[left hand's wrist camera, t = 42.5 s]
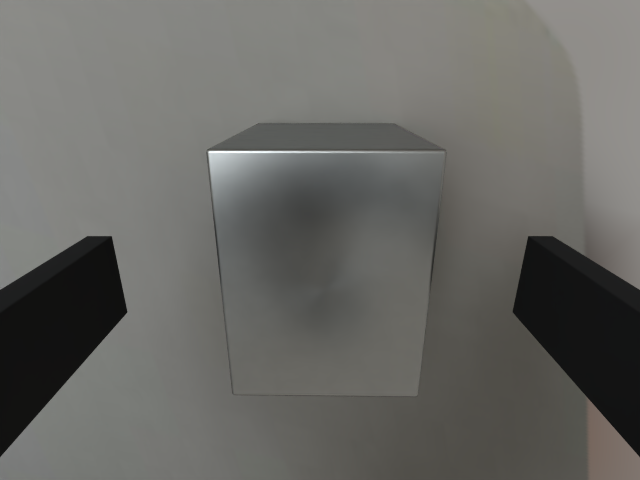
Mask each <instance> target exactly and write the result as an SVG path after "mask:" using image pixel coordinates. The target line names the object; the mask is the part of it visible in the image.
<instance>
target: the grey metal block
mask: <svg viewBox="0 0 640 480" xmlns="http://www.w3.org/2000/svg"><path fill="white" fill-rule="evenodd" d="M206 154H207V163H208V172H209V181H210V191H211V200H212V209H213V219H214V228H215V237H216V247H217V256H218V265H219V275H220V284H221V293H222V302H223V312H224V321H225V330H226V340H227V349H228V358H229V368H230V377H231V386H232V393H233V395H285V396H388V397H416V396H417V395H418V390H419V382H420V373H421V365H422V356H423V348H424V339H425V331H426V322H427V314H428V305H429V297H430V289H431V280H432V272H433V263H434V255H435V246H436V238H437V229H438V221H439V212H440V204H441V196H442V187H443V179H444V170H445V162H446V150H445V149H443V148H441V147H439V146H437V145H435V144H433V143H431V142H429V141H427V140H425V139H423V138H421V137H419V136H417V135H415V134H413V133H411V132H410V131H408V130H406V129H404V128H402V127H400V126H398V125H396V124H256V125H254V126H252V127H250V128H248V129H246V130H244V131H243V132H241V133H239V134H237V135H235V136H233V137H231V138H229V139H227V140H225V141H223V142H221V143H219V144H217V145H215V146H213V147H211V148H210V149H208V150H207V152H206Z"/></svg>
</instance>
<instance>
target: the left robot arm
mask: <svg viewBox="0 0 640 480" xmlns="http://www.w3.org/2000/svg"><path fill="white" fill-rule="evenodd" d="M126 313H127V308H126V303H125V298H124V294H123V289H122V284H121V279H120V274H119V269H118V264H117V260H116V255H115V250H114V245H113V240H112V236H87V237H85V238H84V239H82V240H81V241H79V242H77V243H76V244H74V245H72V246H71V247H69V248H68V249H66V250H64V251H63V252H61V253H60V254H58V255H56V256H55V257H53V258H51V259H50V260H48V261H47V262H45V263H43V264H42V265H40V266H38V267H37V268H35V269H34V270H32V271H30V272H29V273H27V274H25V275H24V276H22V277H21V278H19V279H17V280H16V281H14V282H12V283H11V284H9V285H8V286H6V287H4V288H3V289H1V290H0V457H1V455H2V454H3V453H4V452H5V451H6V450H7V449H8V447H9V446H10V445H11V444H12V443H13V442H14V441H15V439H16V438H17V437H18V436H19V435H20V434H21V433H22V432H23V430H24V429H25V428H26V427H27V426H28V425H29V424H30V422H31V421H32V420H33V419H34V418H35V417H36V416H37V414H38V413H39V412H40V411H41V410H42V409H43V408H44V406H45V405H46V404H47V403H48V402H49V401H50V400H51V399H52V397H53V396H54V395H55V394H56V393H57V392H58V391H59V389H60V388H61V387H62V386H63V385H64V384H65V383H66V381H67V380H68V379H69V378H70V377H71V376H72V375H73V373H74V372H75V371H76V370H77V369H78V368H79V367H80V366H81V364H82V363H83V362H84V361H85V360H86V359H87V358H88V356H89V355H90V354H91V353H92V352H93V351H94V350H95V348H96V347H97V346H98V345H99V344H100V343H101V342H102V340H103V339H104V338H105V337H106V336H107V335H108V334H109V333H110V331H111V330H112V329H113V328H114V327H115V326H116V325H117V323H118V322H119V321H120V320H121V319H122V318H123V317H124V315H125V314H126ZM513 313H514V314H515V315H516V317H517V318H518V319H519V320H520V321H521V322H522V323H523V325H524V326H525V327H526V328H527V329H528V330H529V331H530V333H531V334H532V335H533V336H534V337H535V338H536V339H537V340H538V342H539V343H540V344H541V345H542V346H543V347H544V348H545V350H546V351H547V352H548V353H549V354H550V355H551V356H552V358H553V359H554V360H555V361H556V362H557V363H558V364H559V366H560V367H561V368H562V369H563V370H564V371H565V372H566V373H567V375H568V376H569V377H570V378H571V379H572V380H573V381H574V383H575V384H576V385H577V386H578V387H579V388H580V389H581V391H582V392H583V393H584V394H585V395H586V396H587V397H588V399H589V400H590V401H591V402H592V403H593V404H594V405H595V406H596V408H597V409H598V410H599V411H600V412H601V413H602V414H603V416H604V417H605V418H606V419H607V420H608V421H609V422H610V424H611V425H612V426H613V427H614V428H615V429H616V430H617V432H618V433H619V434H620V435H621V436H622V437H623V438H624V439H625V441H626V442H627V443H628V444H629V445H630V446H631V447H632V449H633V450H634V451H635V452H636V453H637V454H638V455H639V457H640V290H639V289H637V288H636V287H634V286H632V285H631V284H629V283H628V282H626V281H624V280H623V279H621V278H619V277H618V276H616V275H615V274H613V273H611V272H610V271H608V270H606V269H605V268H603V267H602V266H600V265H598V264H597V263H595V262H593V261H592V260H590V259H589V258H587V257H585V256H584V255H582V254H580V253H579V252H577V251H576V250H574V249H572V248H571V247H569V246H568V245H566V244H564V243H563V242H561V241H559V240H558V239H556V238H555V237H553V236H528V240H527V245H526V250H525V255H524V260H523V264H522V269H521V274H520V279H519V284H518V289H517V294H516V298H515V303H514V308H513Z"/></svg>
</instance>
